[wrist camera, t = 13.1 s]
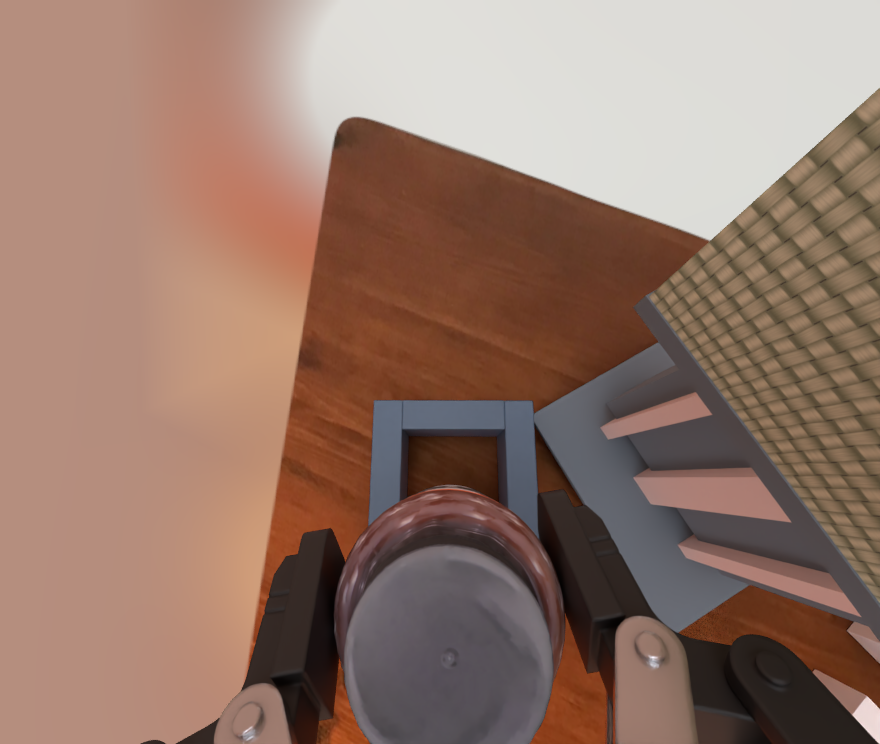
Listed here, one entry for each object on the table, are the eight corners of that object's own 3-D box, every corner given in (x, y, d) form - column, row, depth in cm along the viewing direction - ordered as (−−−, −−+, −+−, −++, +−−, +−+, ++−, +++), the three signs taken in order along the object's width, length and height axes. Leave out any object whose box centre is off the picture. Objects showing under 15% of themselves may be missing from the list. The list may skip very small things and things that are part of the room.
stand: (379, 558, 30) (366, 573, 26) (384, 411, 33) (373, 400, 28) (527, 559, 30) (542, 574, 25) (520, 411, 33) (533, 400, 28)
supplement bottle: (422, 461, 20) (390, 436, 9) (537, 523, 19) (661, 581, 8) (359, 582, 18) (226, 734, 7) (479, 654, 17) (532, 947, 6)
